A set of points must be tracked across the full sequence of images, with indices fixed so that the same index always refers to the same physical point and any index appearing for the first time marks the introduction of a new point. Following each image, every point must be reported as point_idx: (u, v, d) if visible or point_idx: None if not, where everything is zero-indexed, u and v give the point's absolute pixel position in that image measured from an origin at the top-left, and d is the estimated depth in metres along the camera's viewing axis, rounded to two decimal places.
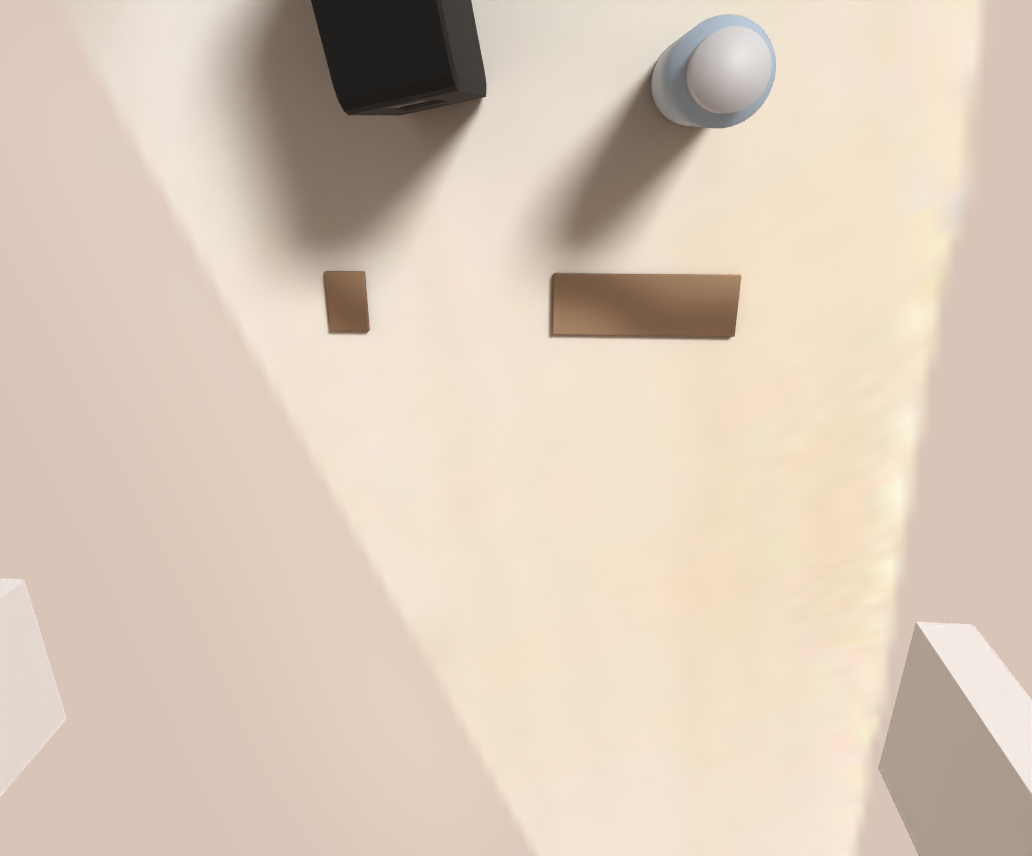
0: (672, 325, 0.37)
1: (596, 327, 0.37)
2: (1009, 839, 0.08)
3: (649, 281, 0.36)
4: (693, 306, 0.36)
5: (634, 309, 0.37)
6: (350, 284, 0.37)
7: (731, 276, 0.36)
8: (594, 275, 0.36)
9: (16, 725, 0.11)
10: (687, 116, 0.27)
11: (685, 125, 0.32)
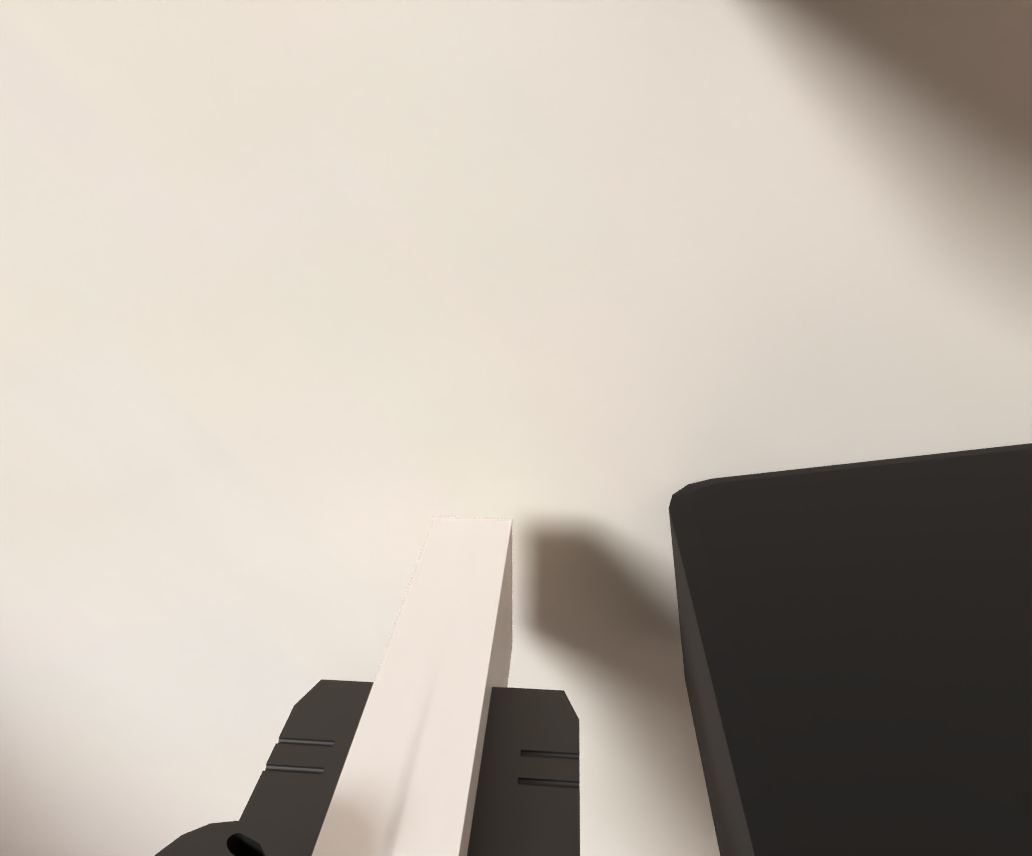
0: None
1: None
2: None
3: None
4: None
5: None
6: None
7: None
8: None
9: None
10: None
11: None
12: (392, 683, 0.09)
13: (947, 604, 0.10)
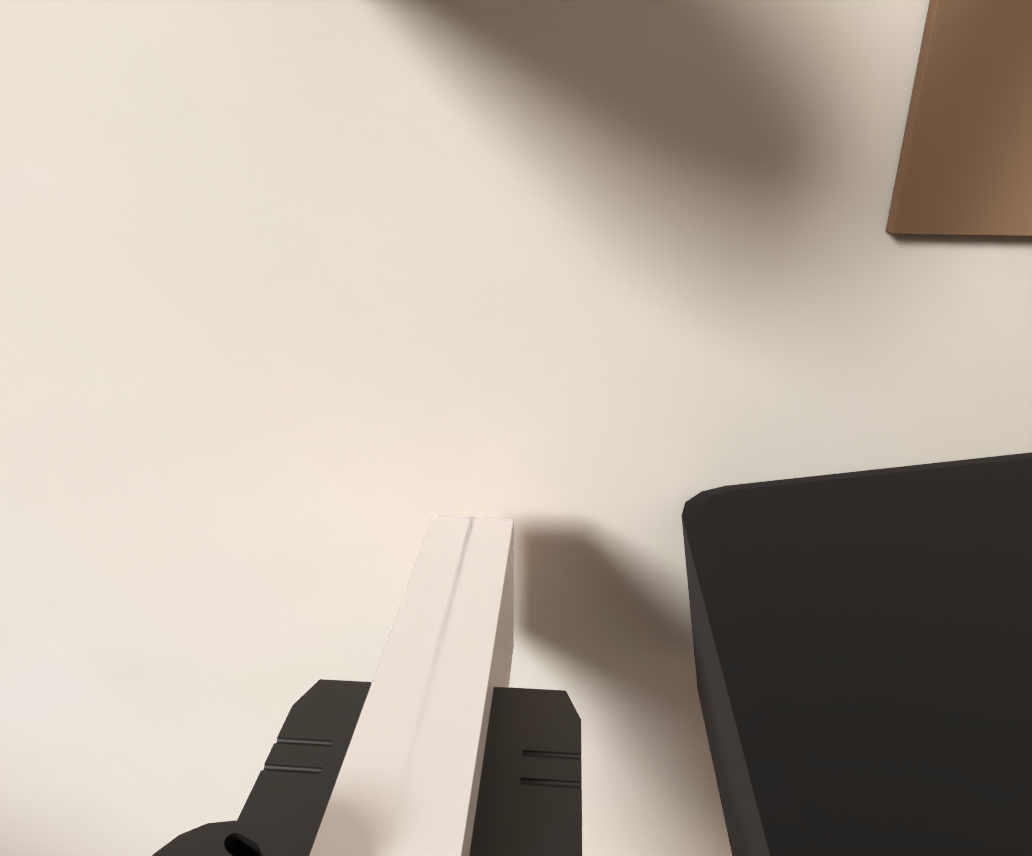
0: None
1: None
2: None
3: None
4: None
5: None
6: None
7: None
8: (921, 96, 0.11)
9: None
10: None
11: None
12: (390, 683, 0.09)
13: (971, 617, 0.10)
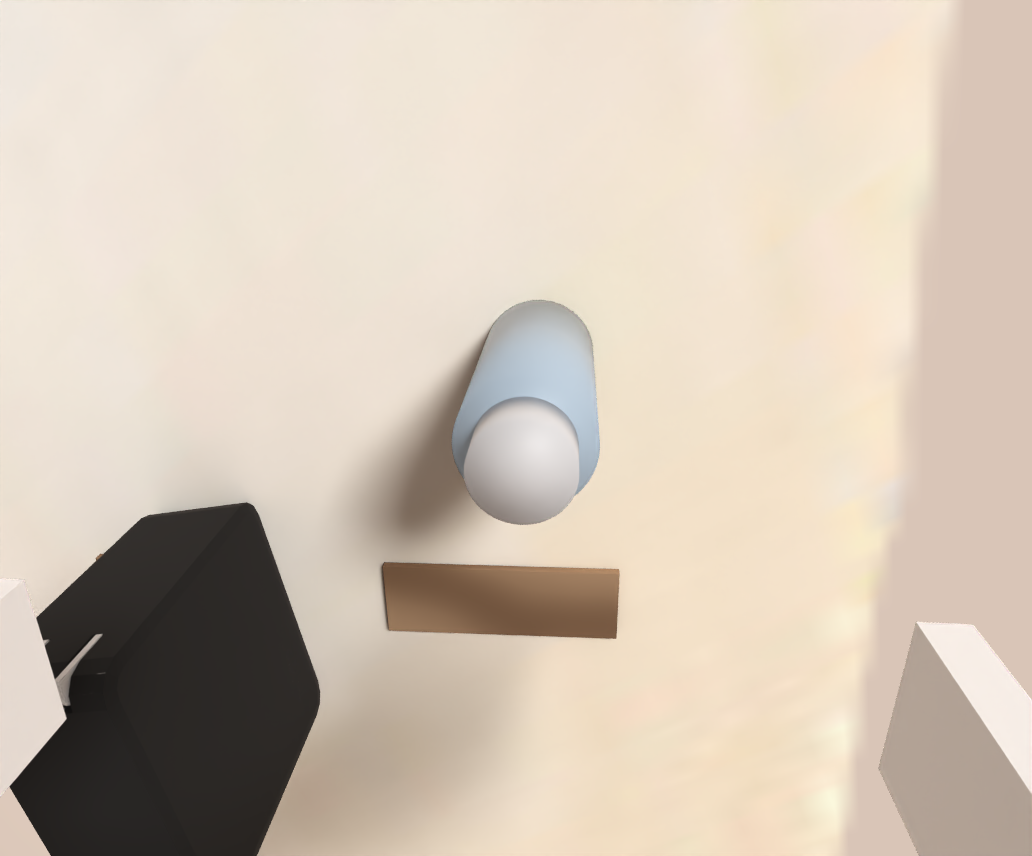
0: (537, 624, 0.29)
1: (441, 624, 0.29)
2: (1009, 839, 0.08)
3: (503, 577, 0.28)
4: (562, 604, 0.28)
5: (487, 606, 0.29)
6: None
7: (607, 573, 0.28)
8: (433, 568, 0.28)
9: (16, 725, 0.11)
10: None
11: None
12: None
13: (230, 640, 0.25)
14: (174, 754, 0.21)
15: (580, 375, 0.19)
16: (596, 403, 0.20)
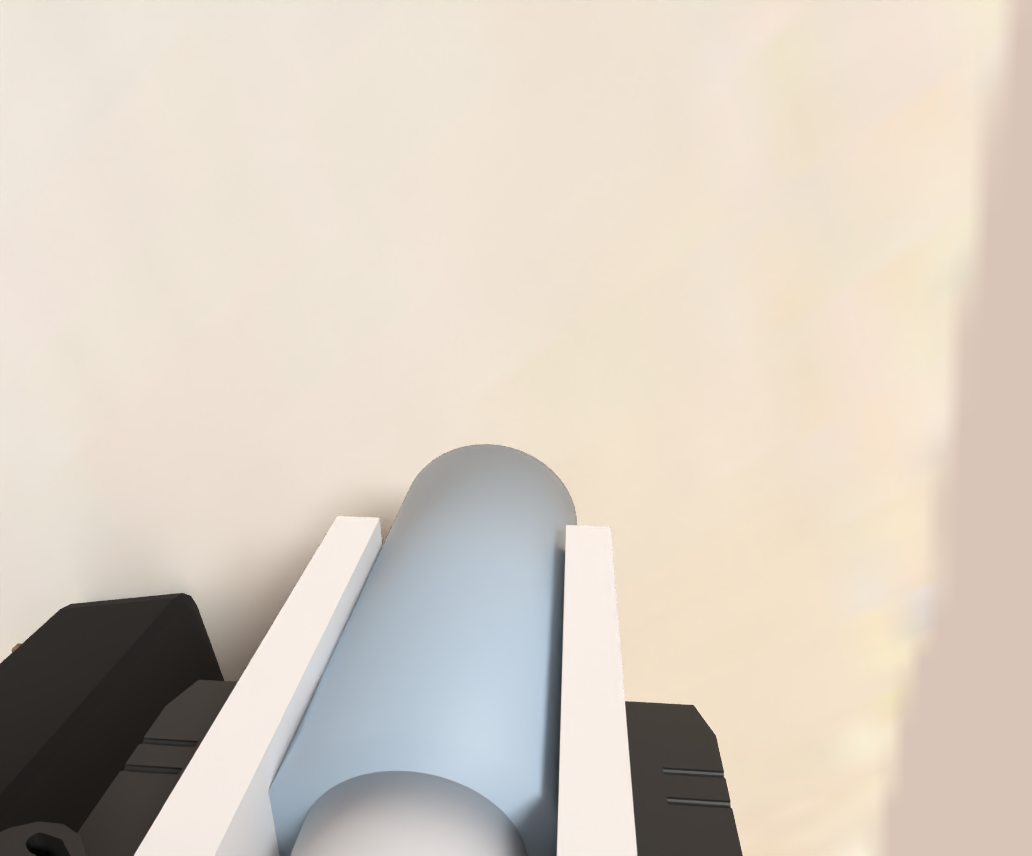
0: None
1: None
2: None
3: None
4: None
5: None
6: None
7: None
8: None
9: None
10: None
11: None
12: (255, 683, 0.09)
13: None
14: None
15: (539, 671, 0.09)
16: None
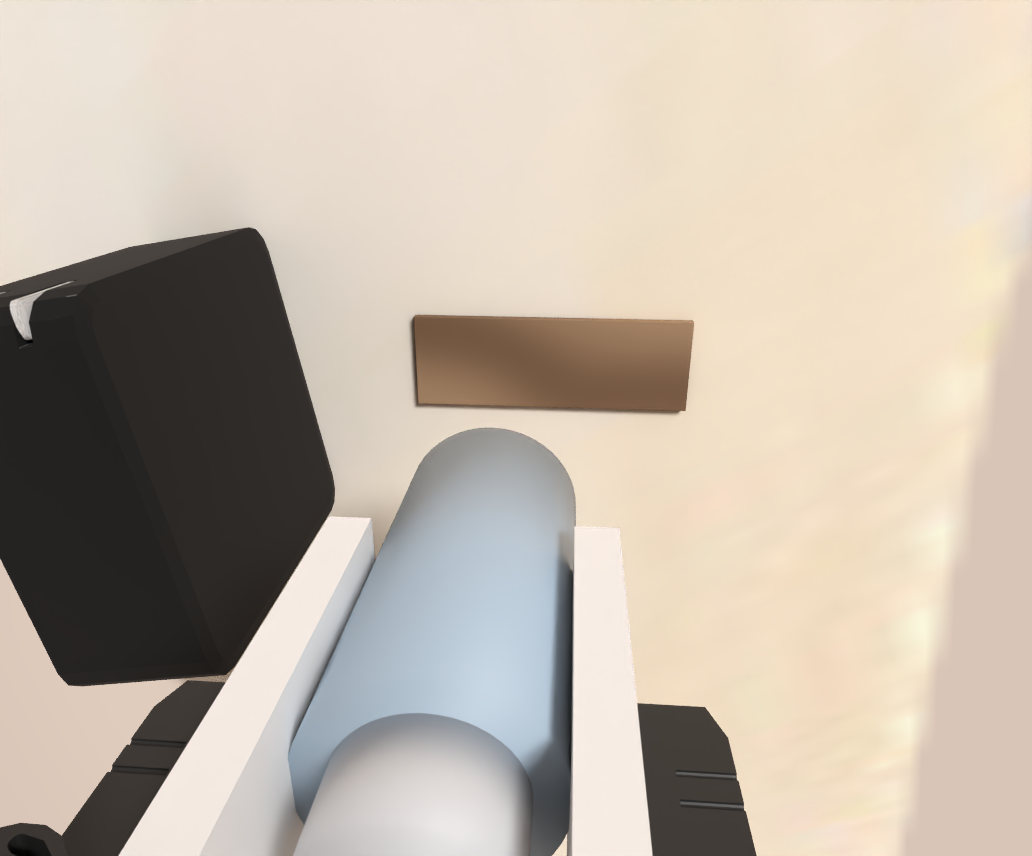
0: (593, 393, 0.25)
1: (480, 394, 0.25)
2: None
3: (556, 329, 0.24)
4: (623, 365, 0.24)
5: (536, 369, 0.25)
6: None
7: (679, 323, 0.24)
8: (474, 319, 0.24)
9: None
10: None
11: None
12: (243, 684, 0.09)
13: (235, 362, 0.21)
14: (164, 444, 0.17)
15: (542, 629, 0.10)
16: None
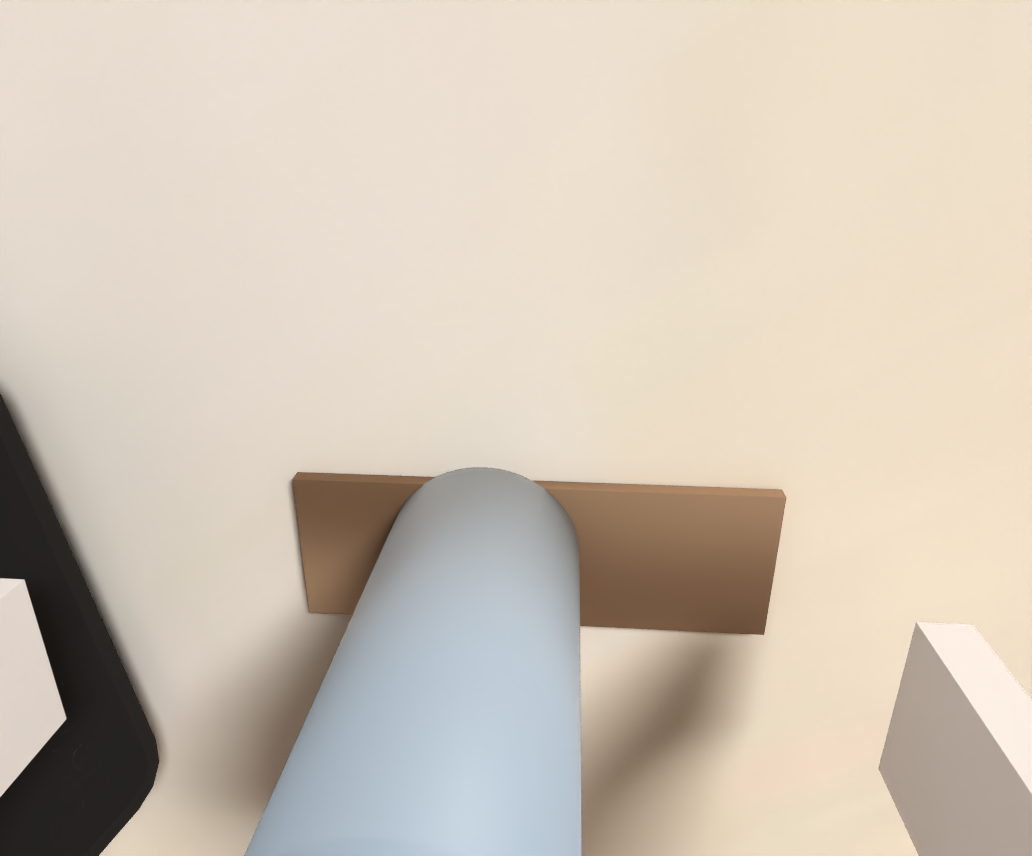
0: (605, 604, 0.14)
1: None
2: (1009, 839, 0.08)
3: None
4: (659, 563, 0.14)
5: None
6: None
7: (759, 496, 0.13)
8: (397, 484, 0.14)
9: (16, 725, 0.11)
10: None
11: None
12: None
13: None
14: None
15: (543, 744, 0.08)
16: (579, 783, 0.09)
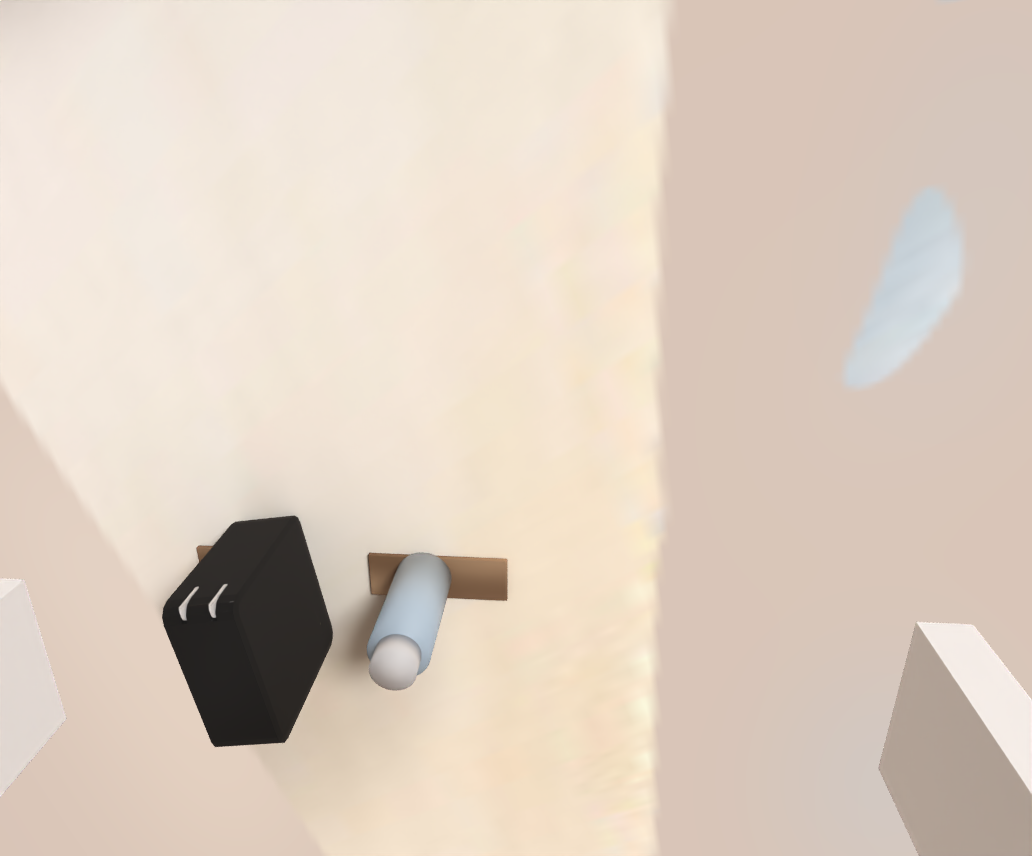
0: (460, 591, 0.49)
1: None
2: (1009, 839, 0.08)
3: None
4: (474, 579, 0.48)
5: None
6: None
7: (500, 561, 0.47)
8: (398, 557, 0.48)
9: (16, 725, 0.11)
10: None
11: None
12: None
13: (286, 593, 0.45)
14: (261, 648, 0.41)
15: (427, 617, 0.42)
16: (436, 626, 0.43)
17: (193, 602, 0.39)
